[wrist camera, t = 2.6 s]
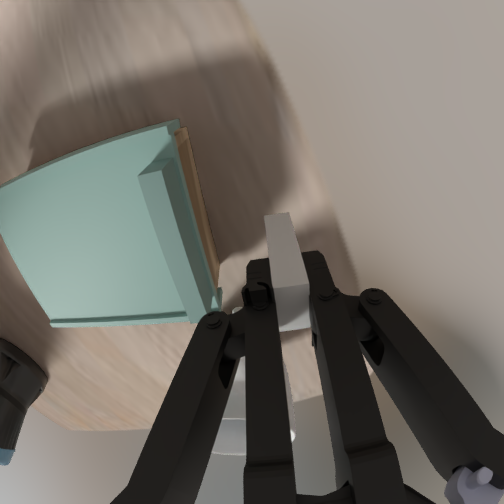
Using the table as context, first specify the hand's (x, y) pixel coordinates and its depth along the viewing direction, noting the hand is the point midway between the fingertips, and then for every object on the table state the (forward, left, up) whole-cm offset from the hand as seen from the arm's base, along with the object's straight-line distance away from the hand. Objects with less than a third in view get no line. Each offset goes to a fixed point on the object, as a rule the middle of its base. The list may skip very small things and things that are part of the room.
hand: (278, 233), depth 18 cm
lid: (-15, 0, -4) cm, 15 cm away
